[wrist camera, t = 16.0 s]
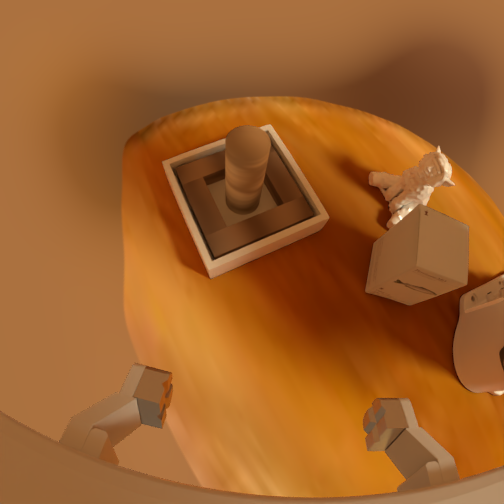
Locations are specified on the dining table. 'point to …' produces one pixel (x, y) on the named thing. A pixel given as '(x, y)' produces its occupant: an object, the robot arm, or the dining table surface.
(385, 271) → the supplement box
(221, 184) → the open box
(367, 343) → the dining table surface
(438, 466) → the robot arm
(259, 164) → the birch peg
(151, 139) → the dining table surface
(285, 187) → the bore plate
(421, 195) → the seated beast figurine
